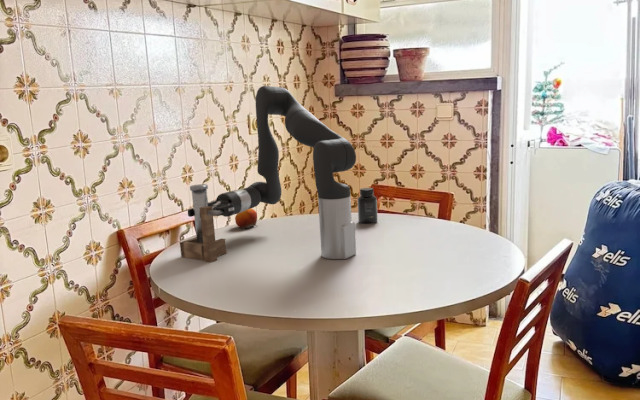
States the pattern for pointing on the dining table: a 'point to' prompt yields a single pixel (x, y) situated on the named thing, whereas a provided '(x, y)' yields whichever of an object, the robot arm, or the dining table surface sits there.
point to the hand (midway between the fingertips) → (194, 214)
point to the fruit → (246, 218)
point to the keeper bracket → (205, 239)
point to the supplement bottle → (367, 206)
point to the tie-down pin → (199, 201)
